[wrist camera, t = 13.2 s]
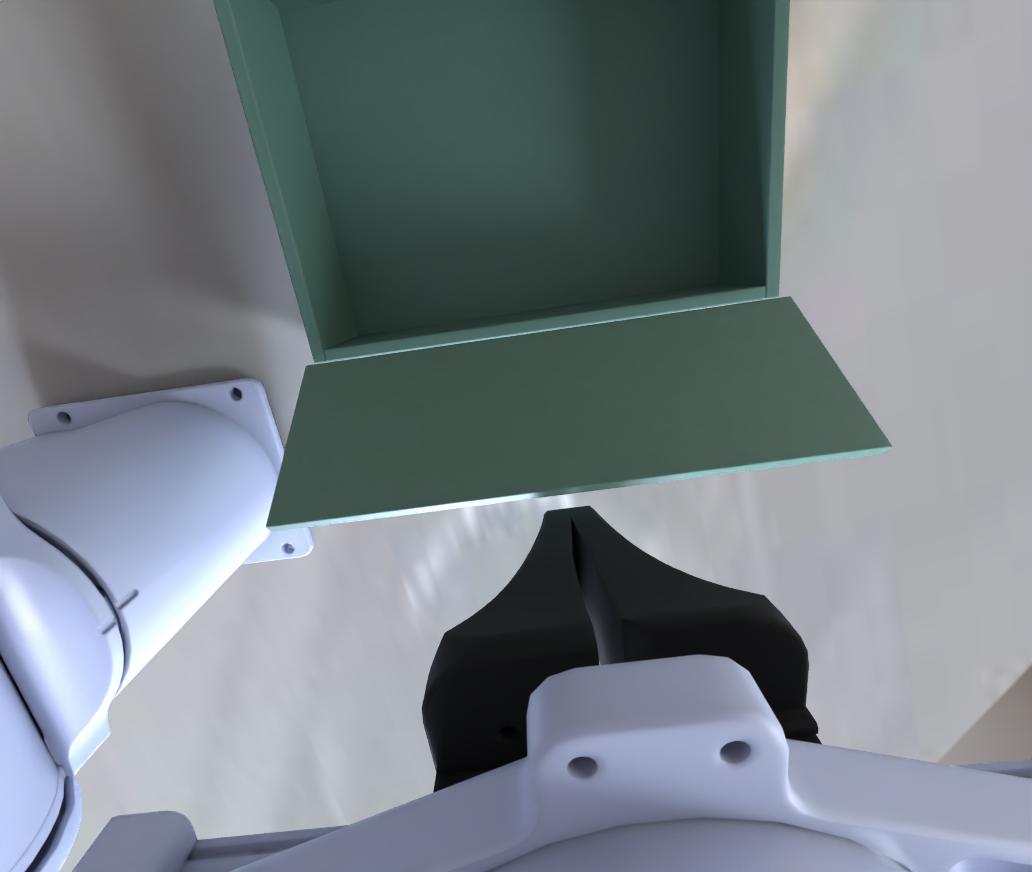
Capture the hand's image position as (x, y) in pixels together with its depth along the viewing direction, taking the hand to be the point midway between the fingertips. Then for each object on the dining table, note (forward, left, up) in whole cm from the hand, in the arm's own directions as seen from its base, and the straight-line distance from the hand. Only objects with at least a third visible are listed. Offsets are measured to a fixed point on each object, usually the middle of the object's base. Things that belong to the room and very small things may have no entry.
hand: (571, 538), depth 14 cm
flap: (0, +4, 0) cm, 4 cm away
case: (0, +11, -7) cm, 13 cm away
